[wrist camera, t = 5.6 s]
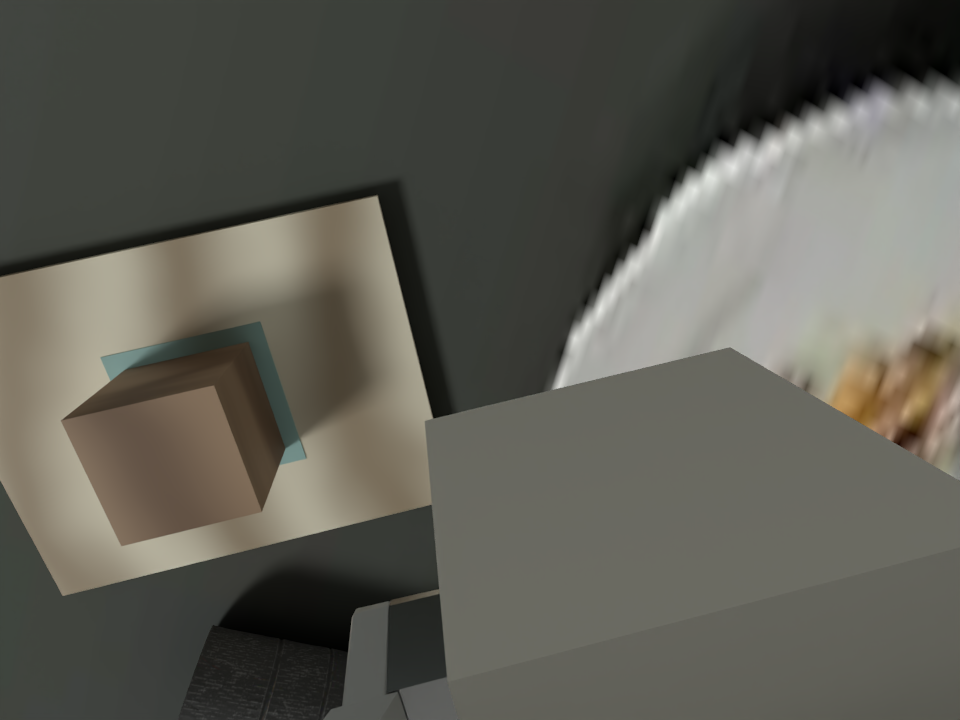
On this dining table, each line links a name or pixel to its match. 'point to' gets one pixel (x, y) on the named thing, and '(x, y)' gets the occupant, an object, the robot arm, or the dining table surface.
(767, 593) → the cream block
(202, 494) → the walnut block
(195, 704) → the laser sight
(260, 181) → the dining table surface
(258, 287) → the beige rectangular board
